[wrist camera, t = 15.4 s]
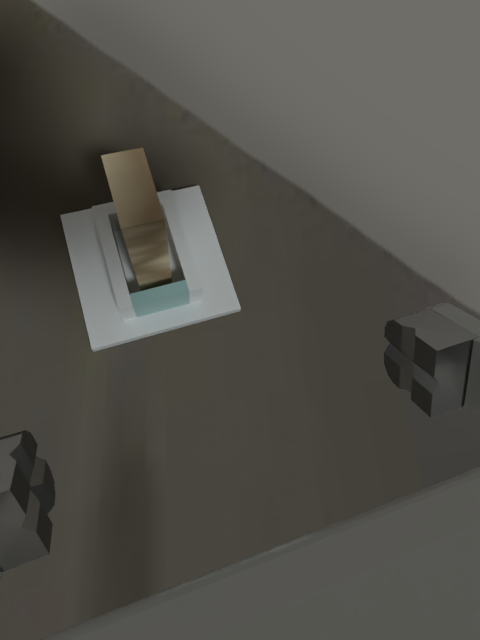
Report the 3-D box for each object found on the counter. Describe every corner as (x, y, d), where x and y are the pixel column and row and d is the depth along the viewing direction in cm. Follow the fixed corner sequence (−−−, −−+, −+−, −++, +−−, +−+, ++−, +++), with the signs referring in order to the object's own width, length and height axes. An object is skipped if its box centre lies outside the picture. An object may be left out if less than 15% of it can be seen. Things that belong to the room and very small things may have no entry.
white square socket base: (93, 351, 39) (83, 340, 35) (62, 219, 42) (50, 197, 39) (240, 311, 41) (244, 297, 38) (198, 189, 45) (199, 166, 41)
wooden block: (141, 293, 40) (121, 228, 29) (126, 237, 42) (100, 155, 30) (172, 285, 41) (164, 218, 29) (156, 230, 42) (142, 147, 31)
